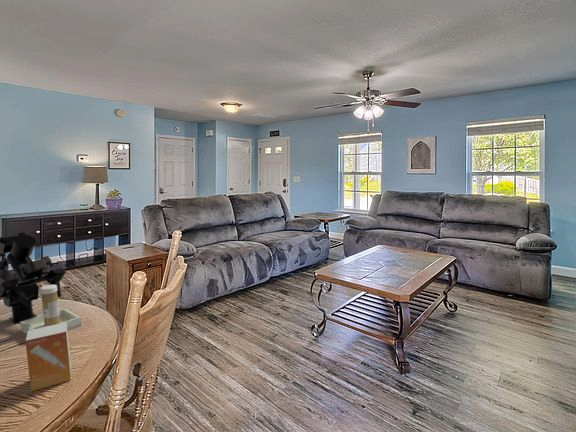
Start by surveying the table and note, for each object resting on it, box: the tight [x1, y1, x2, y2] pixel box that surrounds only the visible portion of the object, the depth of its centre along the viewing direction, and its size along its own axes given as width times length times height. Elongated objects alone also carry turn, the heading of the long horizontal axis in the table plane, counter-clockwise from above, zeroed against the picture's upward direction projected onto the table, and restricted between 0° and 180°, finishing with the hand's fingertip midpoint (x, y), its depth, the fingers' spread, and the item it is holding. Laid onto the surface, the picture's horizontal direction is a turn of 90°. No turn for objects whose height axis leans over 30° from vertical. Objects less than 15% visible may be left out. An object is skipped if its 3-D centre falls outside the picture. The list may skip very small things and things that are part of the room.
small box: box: [25, 322, 72, 392], centre depth 82 cm, size 8×6×13 cm
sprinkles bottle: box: [39, 284, 61, 327], centre depth 110 cm, size 5×5×14 cm
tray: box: [20, 308, 82, 335], centre depth 111 cm, size 13×13×3 cm
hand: (45, 301), depth 110 cm, fingers open, 9 cm apart
